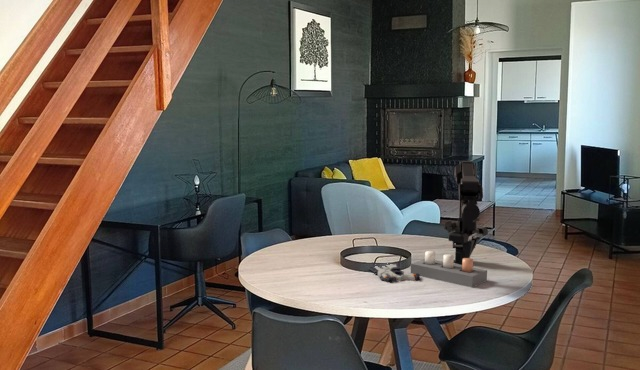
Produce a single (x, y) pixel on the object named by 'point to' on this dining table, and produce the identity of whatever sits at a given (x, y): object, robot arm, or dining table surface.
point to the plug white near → (430, 257)
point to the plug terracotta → (467, 265)
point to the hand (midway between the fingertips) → (467, 257)
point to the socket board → (449, 273)
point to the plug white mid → (448, 261)
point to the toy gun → (393, 273)
